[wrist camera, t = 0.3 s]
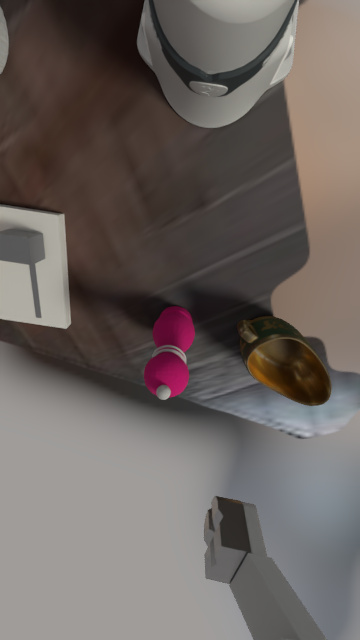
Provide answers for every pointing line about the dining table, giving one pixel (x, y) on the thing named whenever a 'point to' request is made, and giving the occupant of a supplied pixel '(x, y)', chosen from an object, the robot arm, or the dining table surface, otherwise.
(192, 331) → the pepper mill
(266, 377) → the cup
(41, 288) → the fader panel
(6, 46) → the ramekin
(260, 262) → the dining table surface
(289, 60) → the robot arm
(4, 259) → the block
